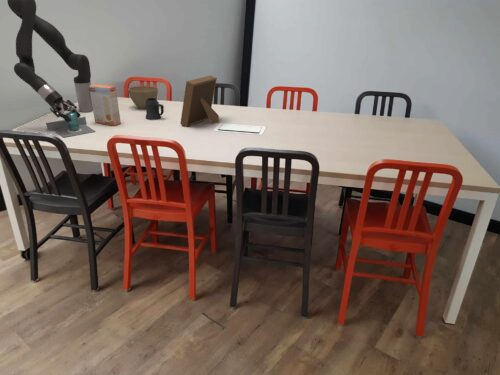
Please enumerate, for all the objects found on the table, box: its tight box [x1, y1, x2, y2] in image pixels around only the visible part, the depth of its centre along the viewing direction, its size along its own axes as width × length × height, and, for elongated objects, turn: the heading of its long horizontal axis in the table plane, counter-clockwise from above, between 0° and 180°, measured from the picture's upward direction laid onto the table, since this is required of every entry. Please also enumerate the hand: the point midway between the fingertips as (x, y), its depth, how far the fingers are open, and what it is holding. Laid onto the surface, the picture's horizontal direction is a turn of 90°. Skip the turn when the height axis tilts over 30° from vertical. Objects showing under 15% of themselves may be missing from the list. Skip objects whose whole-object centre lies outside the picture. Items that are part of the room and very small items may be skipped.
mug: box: [145, 98, 165, 121], centre depth 219 cm, size 12×9×11 cm
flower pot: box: [127, 85, 159, 110], centre depth 240 cm, size 18×18×12 cm
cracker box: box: [89, 83, 122, 127], centre depth 206 cm, size 14×6×21 cm, turn 65°
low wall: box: [45, 116, 88, 131], centre depth 202 cm, size 20×1×4 cm, turn 130°
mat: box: [53, 124, 96, 139], centre depth 197 cm, size 16×16×1 cm
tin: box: [65, 111, 79, 132], centre depth 195 cm, size 5×5×9 cm
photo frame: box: [179, 75, 220, 128], centre depth 209 cm, size 15×22×25 cm
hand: (74, 118), depth 194 cm, fingers open, 8 cm apart
